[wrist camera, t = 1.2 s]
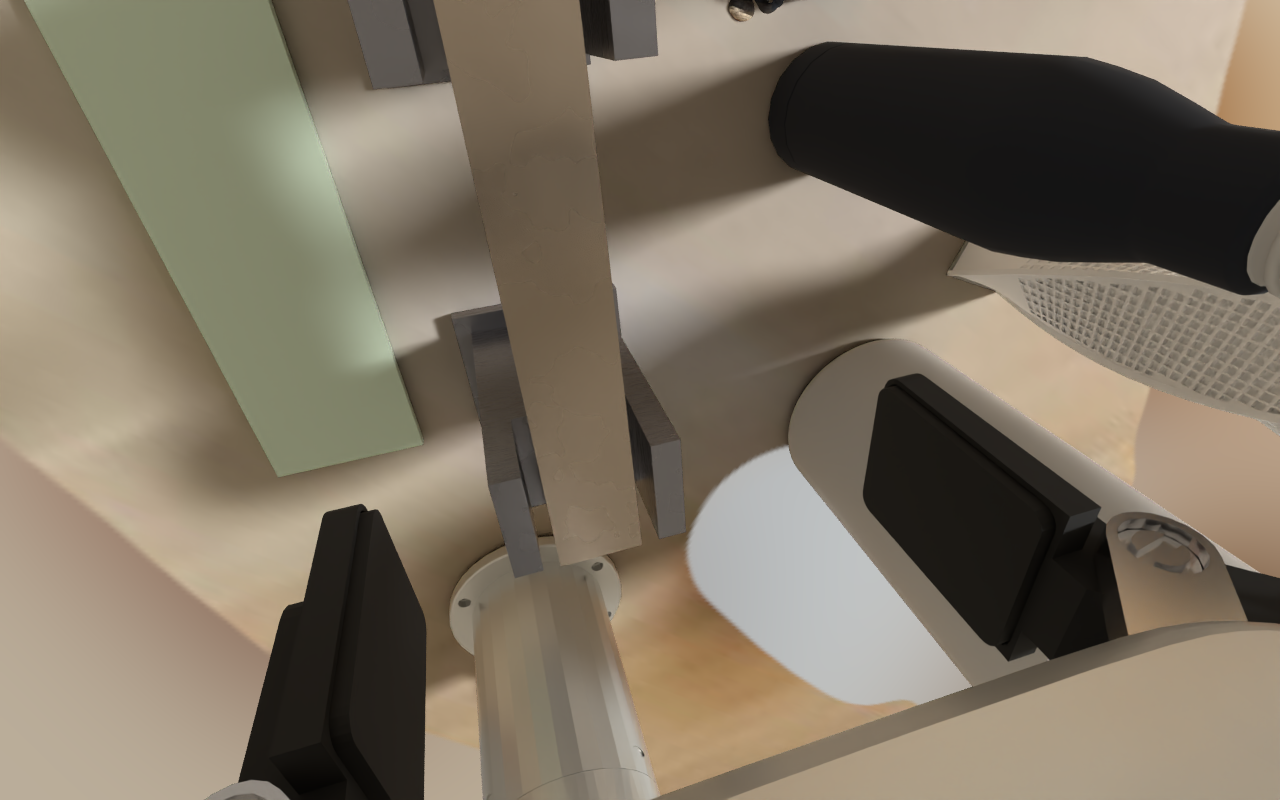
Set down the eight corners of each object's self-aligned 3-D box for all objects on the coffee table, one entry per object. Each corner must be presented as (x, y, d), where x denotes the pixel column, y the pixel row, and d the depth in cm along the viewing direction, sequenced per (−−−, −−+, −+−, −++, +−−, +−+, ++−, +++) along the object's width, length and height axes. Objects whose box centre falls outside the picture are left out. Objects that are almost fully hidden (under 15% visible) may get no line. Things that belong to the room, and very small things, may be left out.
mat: (423, 439, 36) (423, 444, 36) (280, 470, 35) (278, 477, 35) (225, -131, 22) (220, -135, 22) (-30, -118, 21) (-41, -122, 20)
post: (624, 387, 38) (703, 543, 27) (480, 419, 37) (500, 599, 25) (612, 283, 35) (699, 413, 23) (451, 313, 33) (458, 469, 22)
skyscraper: (1000, 314, 45) (1593, 626, 22) (920, 289, 41) (1517, 624, 18) (1072, 200, 41) (1872, 430, 18) (990, 163, 38) (1838, 386, 15)
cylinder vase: (900, 298, 41) (1362, 577, 21) (956, 406, 48) (1341, 695, 28) (753, 415, 43) (1043, 780, 22) (827, 503, 50) (1100, 842, 29)
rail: (621, 492, 30) (642, 544, 27) (548, 511, 29) (560, 567, 26) (532, -178, 16) (553, -220, 13) (394, -172, 16) (385, -215, 13)
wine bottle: (745, 137, 32) (1692, 501, 8) (815, 13, 30) (2418, -6, 6) (828, 192, 35) (1703, 582, 11) (897, 83, 33) (2186, 268, 9)
